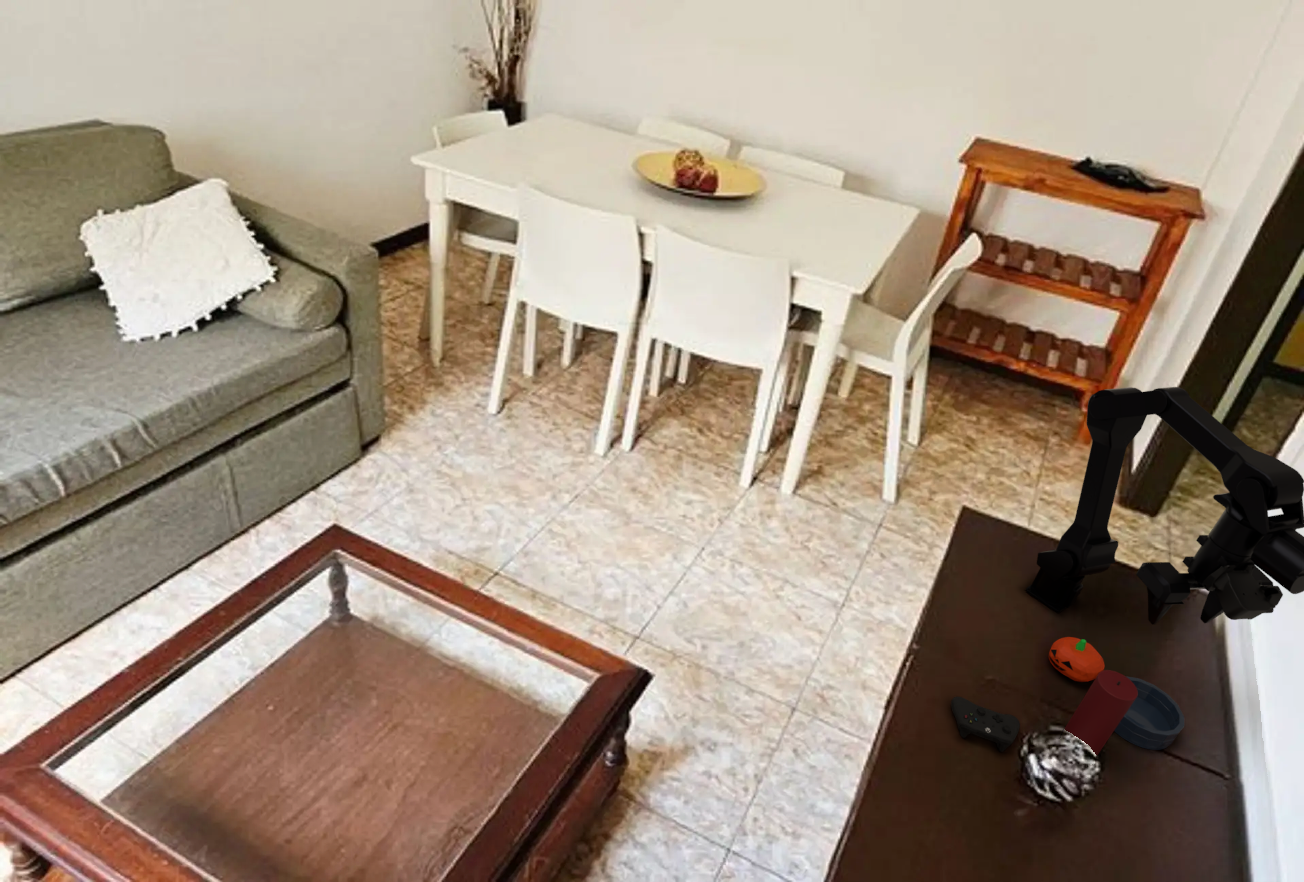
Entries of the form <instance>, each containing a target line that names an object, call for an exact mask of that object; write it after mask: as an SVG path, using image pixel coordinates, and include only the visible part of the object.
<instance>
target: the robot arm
mask: <svg viewBox="0 0 1304 882" xmlns="http://www.w3.org/2000/svg"><path fill="white" fill-rule="evenodd" d="M1149 415H1150V416H1152V415H1155V416H1157V417H1159V418H1160V419H1161V420H1162V421H1163V422H1164V423H1165V424H1167V425H1168V427H1170V428H1171V429H1172V430H1173V431H1174V432H1176V434H1178V435H1179V436H1180V437H1181V438H1182V439H1183V440H1184V441H1186V442H1187V443H1188V444H1189V445H1190V446H1191V447H1193V449H1195V451H1197V452H1198V453H1199V454H1200V455H1201V456H1202V457H1203V458H1205V459H1206V460H1207V461H1208V462H1210V464H1211V465H1213V467H1214V468H1215V469H1216V470H1217V471H1218V472H1219V474H1220V477H1221V481H1222V483H1223V486H1224V487H1225V489H1226V490H1227V491H1228V492H1222V493H1218V494H1217V493H1216V494H1214V495H1213V496H1212V498H1213V500H1214V501H1216V502H1217V503H1218V504H1220V505H1221V506H1222V507H1224V508H1225V509H1224V510H1223V511H1222V513H1221V515H1220V516H1219V518H1218V519H1217V521H1216V522H1215V524H1214V526H1213V527H1212V528H1211V530H1210V532H1209V533H1208V534H1199V535H1198V536H1197V539H1196V540H1195V542H1197V543H1198V544H1199V545H1200V546H1199V548H1198V549H1197V551H1196V553H1195V554H1194V556H1185V557H1184V558H1183V560H1182V563H1183V564H1184V566H1186V567H1187V572H1179V571H1178V569H1177V568H1176V567H1175V566H1174V565H1173V564H1172V563H1171V562H1170V561H1160V562H1159V561H1150V562H1149V561H1147V562H1142V563H1141V565H1140V566H1139V568H1138V570H1137V571H1136V577H1138V578H1139V580H1140V581H1141V582H1142V583H1143V584H1144V585H1145V586H1146V591H1147V592H1146V593H1147V620H1148V621H1149V623H1150V624H1151V625H1156V624H1157V623H1159V622H1160V621H1161V619H1162V618H1163V617H1164V616H1165V614H1166V613H1167V612H1168V611H1169V610H1170V608H1172V606H1174V605H1175V606H1177V605H1179V606H1181V605H1184V604H1185V603H1184V601H1185V600H1186V599H1188V598H1189V596H1190V595H1191V590H1206V592H1208V593H1207V596H1206V599H1205V600H1204V601H1205V602H1204V604H1203V607H1202V609H1201V613H1200V617H1199V618H1200V620H1201V622H1202V623H1204V624H1208V623H1210V622H1211V621H1213V620H1214V619H1216V618H1217V617H1219V616H1221V615H1223V614H1224V615H1225V617H1226V618H1228V619H1229V620H1232V621H1237V620H1250V621H1251V620H1253V619H1255V618H1257V617H1259V616H1260V615H1262V614H1272V613H1274V611H1275V610H1274V609H1275V608H1276V606H1278V605H1279V603H1280V602H1281V599H1282V598H1283V597H1284V593H1283V592H1282V590H1281V588H1280V586H1281V587H1283V588H1284V589H1285V590H1287V592H1289V593H1290V594H1292V595H1299V594H1301V593H1303V592H1304V535H1302V534H1301V533H1300V532H1298V531H1297V530H1299V529H1304V502H1303V496H1304V478H1303V476H1302V474H1300V472H1299V471H1298V470H1296V469H1295V468H1293V467H1292V466H1290V465H1289V464H1287V463H1285V462H1284V461H1281V460H1279V459H1278V458H1277V457H1275V456H1272V455H1270V454H1267V453H1264V452H1261V451H1259V450H1257V449H1255V448H1252V446H1249V445H1248V444H1247V443H1245V442H1244V441H1243V440H1242V439H1240V437H1238V436H1237V435H1236V434H1235V433H1233V432H1232V431H1231V430H1230V429H1229V428H1228V427H1226V425H1224V424H1222V422H1220V421H1219V420H1218V419H1216V418H1215V417H1214V416H1213V415H1212V414H1211V413H1209V411H1207V410H1206V409H1205V408H1204V407H1202V406H1201V405H1200V404H1199V403H1198V402H1197V401H1196V400H1194V399H1193V398H1192V397H1191V396H1190V394H1189V393H1188V391H1187V390H1186V389H1184V388H1181V387H1180V386H1169V387H1167V386H1166V387H1157V388H1154V389H1153V390H1145V391H1142V390H1141V389H1139V388H1137V387H1132V386H1130V387H1119V388H1117V387H1116V388H1107V389H1100V390H1097V391H1096V392H1094V393H1092V394H1091V395H1090V397H1089V399H1088V401H1087V410H1086V427H1087V429H1088V432H1089V435H1090V437H1091V446H1090V450H1089V451H1090V452H1089V455H1088V459H1087V463H1086V468H1085V472H1084V476H1083V481H1082V485H1081V489H1080V495H1079V499H1078V504H1077V507H1076V512H1075V516H1074V520H1073V522H1072V524H1071V525H1070V526H1069V527H1068V528H1067V529H1066V531H1065V532H1064V533H1063V534H1062V535H1061V537H1060V539H1059V541H1058V544H1057V546H1056V549H1051V550H1047V551H1039V552H1038V553H1037V556H1036V557H1037V558H1036V565H1037V566H1038V567H1039V569H1038V571H1037V573H1036V575H1035V577H1034V579H1033V581H1032V583H1031V584H1030V585H1028V586H1027V587H1026V588H1025V592H1026V593H1027V594H1029V595H1030V596H1031V597H1033V598H1034V599H1036V600H1037V601H1039V602H1040V603H1042V604H1043V605H1045V606H1046V607H1048V608H1049V609H1051V610H1053V612H1055V613H1061V612H1062V611H1063V610H1065V609H1069V608H1070V607H1071V606H1072V605H1074V604H1075V603H1076V601H1077V599H1078V597H1079V595H1080V593H1081V592H1082V590H1083V588H1084V585H1083V584H1082V583H1083V581H1084V579H1085V576H1092V575H1094V574H1101V573H1103V572H1106V571H1108V570H1109V569H1110V567H1111V565H1112V564H1116V552H1117V550H1118V548H1119V541H1118V540H1116V539H1112V537H1111V534H1110V532H1109V530H1108V526H1109V521H1110V517H1111V514H1112V510H1113V505H1114V501H1115V497H1116V493H1117V488H1118V484H1119V480H1120V476H1121V473H1122V468H1123V464H1124V459H1125V456H1126V451H1127V448H1128V446H1129V444H1130V443H1131V442H1132V441H1133V440H1134V439H1135V438H1136V436H1137V435H1138V433H1139V432H1140V431H1141V430H1142V428H1143V426H1144V423H1145V421H1146V419H1147V416H1149ZM1279 509H1281V511H1282V513H1281V514H1275V515H1270V516H1269V512H1268V511H1274V510H1279ZM1268 576H1269V577H1268ZM1271 579H1273V580H1274V581H1275V582H1276V583H1278V584H1279V585H1280V586H1279V585H1274V582H1273V581H1272V580H1271Z"/></svg>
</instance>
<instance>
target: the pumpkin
mask: <svg viewBox="0 0 1304 882" xmlns="http://www.w3.org/2000/svg"><path fill="white" fill-rule="evenodd" d="M1048 660H1049V663H1050V664H1051V665H1052V666H1053V668H1054V669H1055V670H1057V672H1059V673H1060V674H1061V675H1063V676H1065V677H1067V678H1068V679H1070V680H1072V681H1074V682H1078V683H1087V682H1090V681H1094V680H1095V679H1096V677H1097V675H1098V674H1099V673H1100V672H1101V671H1104V670H1105V660H1104V658H1103V657H1102V656H1101V654H1100V653H1099V652H1098V651H1097V649H1096V648H1095V647H1094V646H1093V645H1092V644H1091V643H1089V642H1087V640H1086V639H1085V638H1084V639H1083V638H1082V639H1080V638H1078V637H1073V636H1065V637H1064V636H1063V637H1060V638H1059V639H1056V640H1055V641H1054V642H1053V643H1052V645H1051V646H1050V649H1049V652H1048Z"/></svg>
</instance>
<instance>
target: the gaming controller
mask: <svg viewBox="0 0 1304 882" xmlns="http://www.w3.org/2000/svg"><path fill="white" fill-rule="evenodd" d="M950 707H951V711H952V713H953V715H954V718H955V721H956V724H957V729H958V733H959V734H960V737H961V738H963V739H966V738H967V737H968V736H969V735H970V734H971V735H973V736H977V737H980V738H982V739H985V740H988V741H991V742H993V743H996V747H997V748H998V751H999V752H1002V753H1003V752H1005V751H1006V750H1007V748H1009V747H1010V746H1011V745H1013V743H1014V742H1015V740H1016V738H1017V736H1018V734H1019V731H1020V728H1021V723H1020V720H1019V718H1018V717H1016V716H1015V715H1013V714H1010V713H1000V712H997V711H995V710H992V709H989V708H986V707H984V706H980V705H977V704H976V703H974V702H972V701H971V700H969V699H967V698H964V697H962V696H954V697H953V698H952V699H951V701H950Z"/></svg>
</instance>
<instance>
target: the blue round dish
mask: <svg viewBox="0 0 1304 882" xmlns="http://www.w3.org/2000/svg"><path fill="white" fill-rule="evenodd" d="M1126 677H1127V678H1128V679H1129V680H1131V681H1132V682H1133V684H1134V685H1135V686H1136V688H1137V691H1138V695H1137V697H1136V699H1135V700H1134V702H1133V703H1132V705H1131V706H1130V708H1129V709H1128V711H1127V712H1126V714H1125V715H1124V717H1123V718H1122V720H1121V721H1120V723H1119V724H1118V726H1117V727H1116V729H1115V730H1114V732H1113V733H1116V735H1118V736H1119V737H1120V738H1122V739H1123V740H1125V741H1127V742H1128V743H1130V744H1133V745H1134V746H1137V747H1139V748H1143V749H1146V750H1152V751H1159V750H1160V751H1161V750H1165V749H1167V748H1168V747H1170V746H1171V745H1172V743H1173V742H1174V741H1175V740H1176V738H1177V737H1178V736H1179V734H1180V733H1181V732H1182V731H1183V729H1184V728H1185V715H1184V714H1183V711H1182V709H1181V708H1180V705H1179V704H1178V703H1177V702H1176V701H1175V700H1174V699H1173V698H1172V697H1171V695H1170V694H1169V693H1167V692H1165V691H1164V690H1162V689H1161V688H1160V687H1159V686H1157V685H1155V684H1153V683H1152V682H1149V681H1147V680H1144V679H1142V678H1139V677H1134V676H1133V677H1132V676H1127V675H1126Z"/></svg>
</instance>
